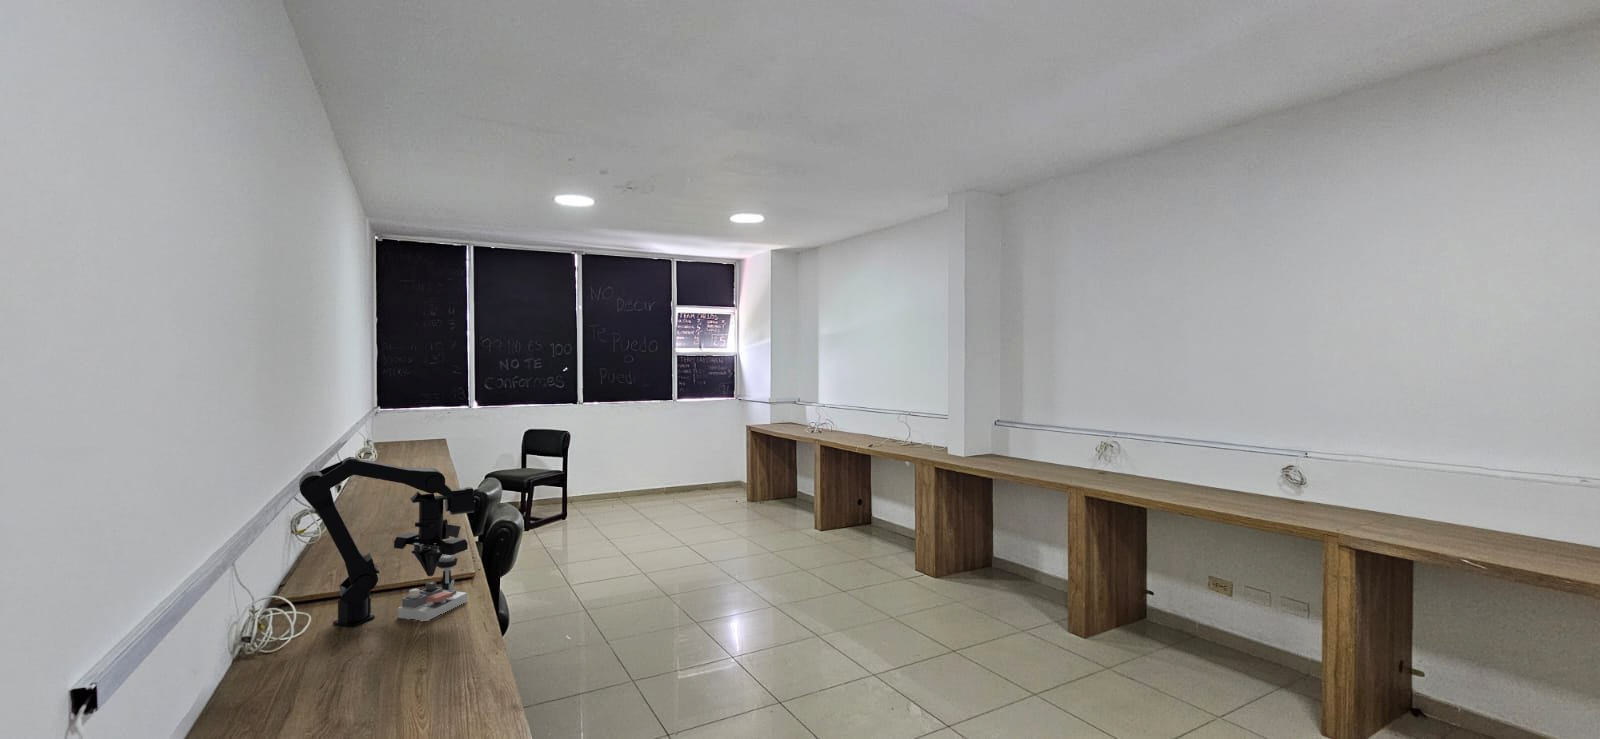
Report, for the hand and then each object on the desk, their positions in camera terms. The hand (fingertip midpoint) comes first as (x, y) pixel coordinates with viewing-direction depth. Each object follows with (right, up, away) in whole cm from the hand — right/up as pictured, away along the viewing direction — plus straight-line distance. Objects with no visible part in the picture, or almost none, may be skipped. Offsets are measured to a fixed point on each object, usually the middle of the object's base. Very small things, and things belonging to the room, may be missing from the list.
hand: (430, 575), depth 182 cm
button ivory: (-1, -4, -5) cm, 7 cm away
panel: (+2, -8, -2) cm, 9 cm away
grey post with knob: (-2, -8, +12) cm, 14 cm away
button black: (0, -4, 0) cm, 4 cm away
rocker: (+4, -5, -3) cm, 7 cm away
